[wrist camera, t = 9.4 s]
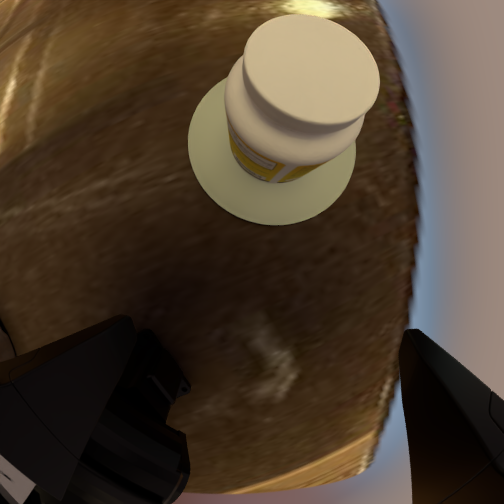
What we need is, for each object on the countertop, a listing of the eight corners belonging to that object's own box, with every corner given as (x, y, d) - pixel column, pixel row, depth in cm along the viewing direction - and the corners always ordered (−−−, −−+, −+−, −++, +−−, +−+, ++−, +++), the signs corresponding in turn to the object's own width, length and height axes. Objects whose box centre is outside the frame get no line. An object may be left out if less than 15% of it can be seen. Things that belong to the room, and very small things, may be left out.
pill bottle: (319, 108, 18) (391, 25, 7) (314, 189, 19) (404, 165, 8) (233, 97, 17) (232, -9, 7) (224, 180, 18) (207, 135, 7)
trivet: (237, 254, 20) (238, 256, 19) (163, 112, 18) (161, 109, 17) (376, 182, 20) (381, 181, 19) (303, 54, 18) (305, 49, 17)
